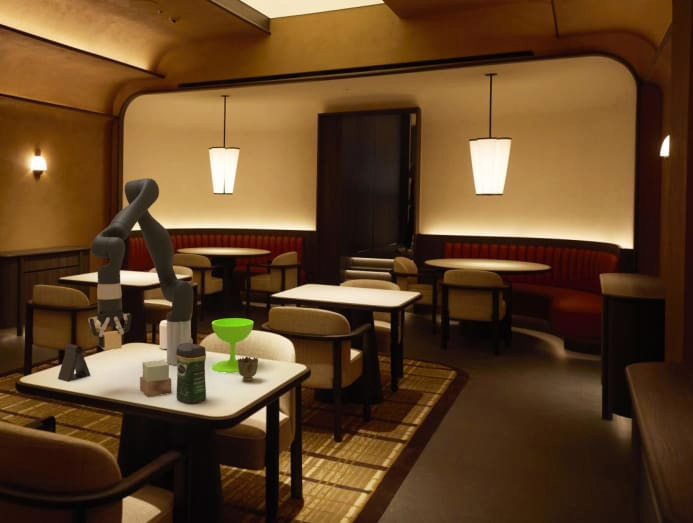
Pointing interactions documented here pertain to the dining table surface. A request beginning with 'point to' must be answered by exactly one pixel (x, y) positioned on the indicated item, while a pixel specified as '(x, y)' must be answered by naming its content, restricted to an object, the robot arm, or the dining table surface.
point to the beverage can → (163, 334)
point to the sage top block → (155, 371)
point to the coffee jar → (191, 373)
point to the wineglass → (231, 339)
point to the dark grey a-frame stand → (73, 364)
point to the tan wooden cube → (112, 340)
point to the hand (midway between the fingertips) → (110, 345)
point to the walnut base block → (155, 387)
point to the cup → (247, 368)
